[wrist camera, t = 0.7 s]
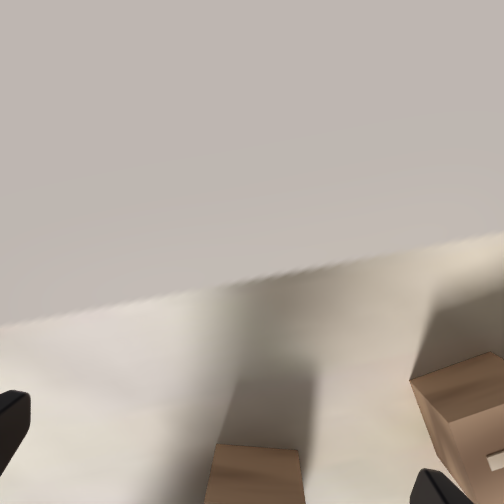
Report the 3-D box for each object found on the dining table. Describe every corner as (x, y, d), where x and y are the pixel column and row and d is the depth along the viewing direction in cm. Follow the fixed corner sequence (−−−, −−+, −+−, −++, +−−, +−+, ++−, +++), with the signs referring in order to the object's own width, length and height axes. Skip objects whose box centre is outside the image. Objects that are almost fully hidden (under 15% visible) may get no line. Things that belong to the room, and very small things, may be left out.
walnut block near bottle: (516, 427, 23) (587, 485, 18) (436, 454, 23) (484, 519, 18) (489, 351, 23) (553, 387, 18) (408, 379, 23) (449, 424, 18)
